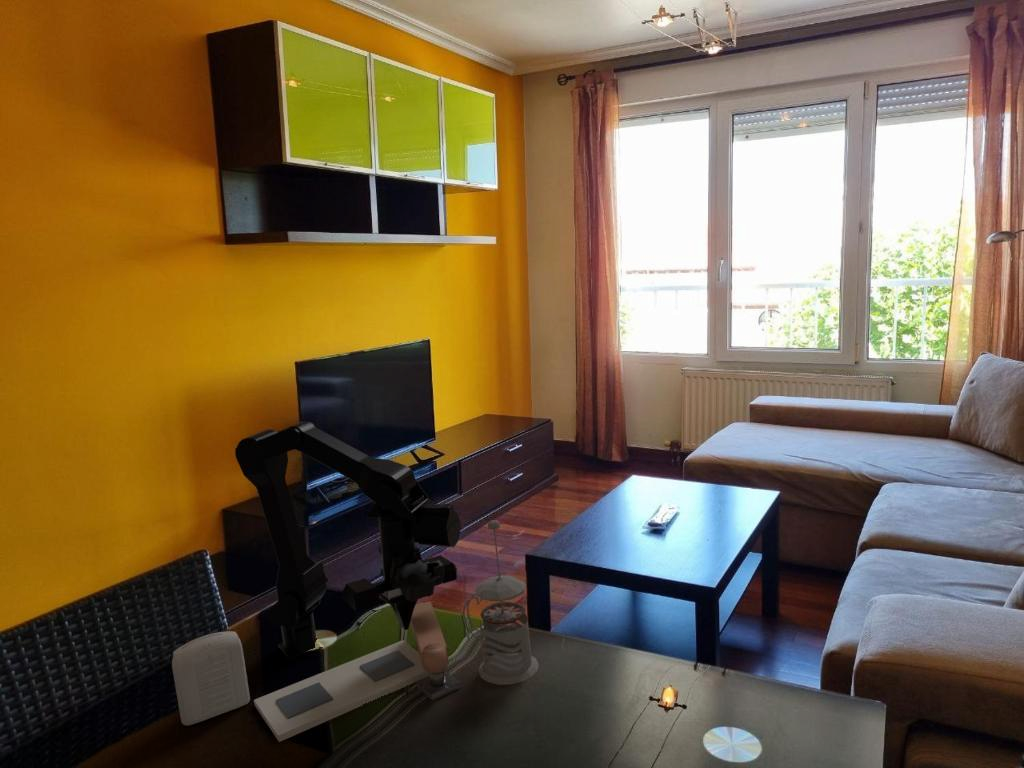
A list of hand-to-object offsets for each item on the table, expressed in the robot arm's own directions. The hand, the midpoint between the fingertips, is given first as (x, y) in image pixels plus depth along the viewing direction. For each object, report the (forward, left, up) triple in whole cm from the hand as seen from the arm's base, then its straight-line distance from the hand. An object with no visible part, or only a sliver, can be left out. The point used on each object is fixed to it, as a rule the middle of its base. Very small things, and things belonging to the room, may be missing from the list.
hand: (405, 628), depth 127 cm
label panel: (+2, -12, -5) cm, 13 cm away
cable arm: (+5, +2, -1) cm, 5 cm away
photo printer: (-7, -30, -5) cm, 31 cm away
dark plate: (+12, -1, -5) cm, 13 cm away
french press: (+14, +10, -5) cm, 18 cm away
